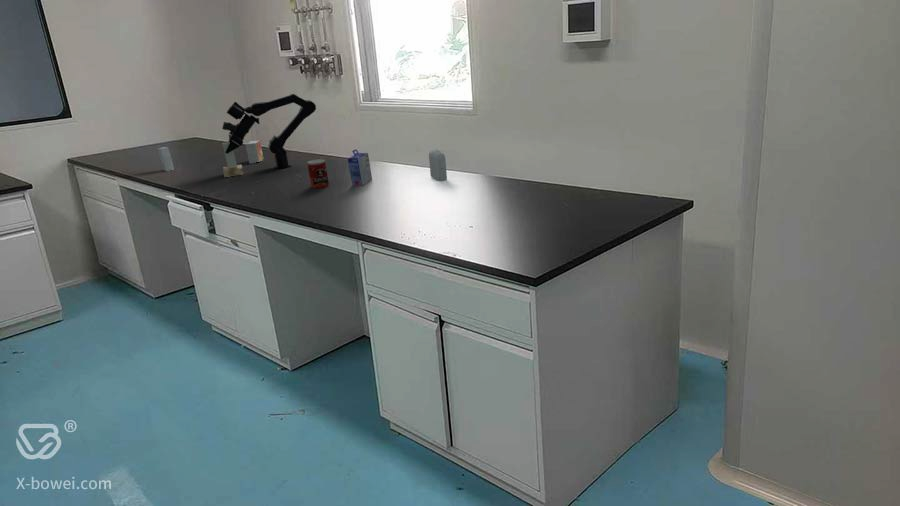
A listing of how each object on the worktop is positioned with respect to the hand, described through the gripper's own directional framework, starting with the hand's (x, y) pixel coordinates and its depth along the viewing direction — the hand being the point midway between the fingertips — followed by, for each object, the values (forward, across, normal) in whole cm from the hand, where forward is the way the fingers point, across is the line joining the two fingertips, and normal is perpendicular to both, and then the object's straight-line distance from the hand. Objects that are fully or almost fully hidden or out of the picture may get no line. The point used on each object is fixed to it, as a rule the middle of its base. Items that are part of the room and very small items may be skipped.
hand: (226, 151), depth 306 cm
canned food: (-17, +53, +34) cm, 65 cm away
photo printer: (-51, +74, +68) cm, 112 cm away
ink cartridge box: (-29, +60, +46) cm, 81 cm away
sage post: (+5, 0, +7) cm, 8 cm away
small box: (-1, -26, +18) cm, 32 cm away
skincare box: (+31, -38, -14) cm, 51 cm away
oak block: (+8, 0, +10) cm, 12 cm away
